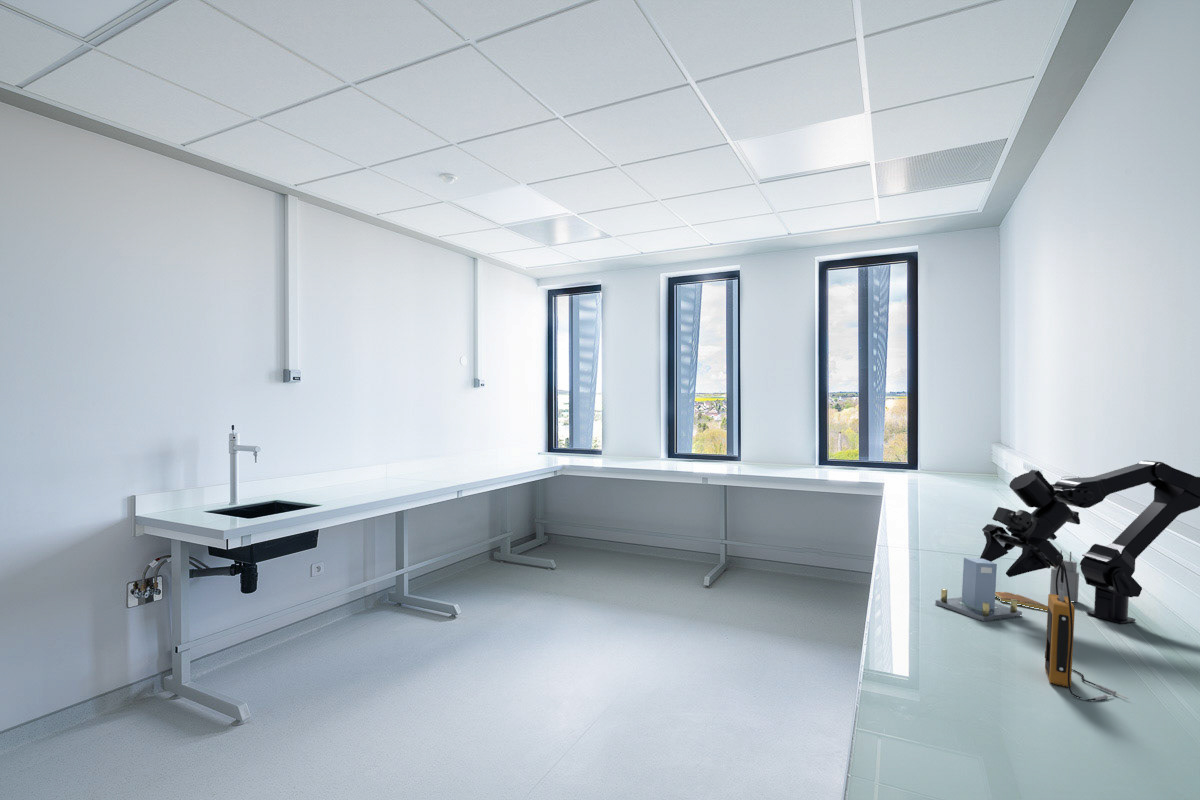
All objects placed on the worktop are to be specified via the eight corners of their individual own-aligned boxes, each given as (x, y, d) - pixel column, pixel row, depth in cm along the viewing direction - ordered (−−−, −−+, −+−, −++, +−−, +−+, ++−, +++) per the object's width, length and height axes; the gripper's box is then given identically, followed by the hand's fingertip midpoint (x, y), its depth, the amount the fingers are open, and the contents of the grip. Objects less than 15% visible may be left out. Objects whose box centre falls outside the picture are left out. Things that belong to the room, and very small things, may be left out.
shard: (1054, 615, 133) (1054, 607, 133) (1023, 614, 132) (1024, 606, 133) (1015, 599, 144) (1016, 592, 144) (987, 598, 143) (987, 591, 143)
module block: (981, 602, 134) (983, 558, 134) (994, 609, 130) (996, 564, 130) (961, 601, 134) (963, 557, 134) (974, 608, 130) (976, 562, 130)
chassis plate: (972, 600, 139) (973, 585, 139) (1021, 616, 129) (1022, 600, 129) (935, 604, 134) (936, 589, 134) (983, 621, 124) (984, 605, 124)
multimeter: (1137, 714, 86) (1143, 577, 87) (1052, 693, 92) (1058, 564, 92) (1115, 678, 99) (1121, 559, 99) (1041, 661, 104) (1047, 549, 104)
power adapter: (1077, 603, 142) (1080, 554, 142) (1049, 598, 145) (1051, 549, 146) (1077, 600, 144) (1080, 552, 145) (1050, 595, 148) (1052, 547, 148)
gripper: (991, 490, 142) (944, 534, 141) (1051, 502, 123) (996, 553, 123) (1022, 524, 141) (975, 568, 141) (1087, 541, 123) (1033, 592, 123)
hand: (993, 569), depth 132 cm, fingers open, 9 cm apart
